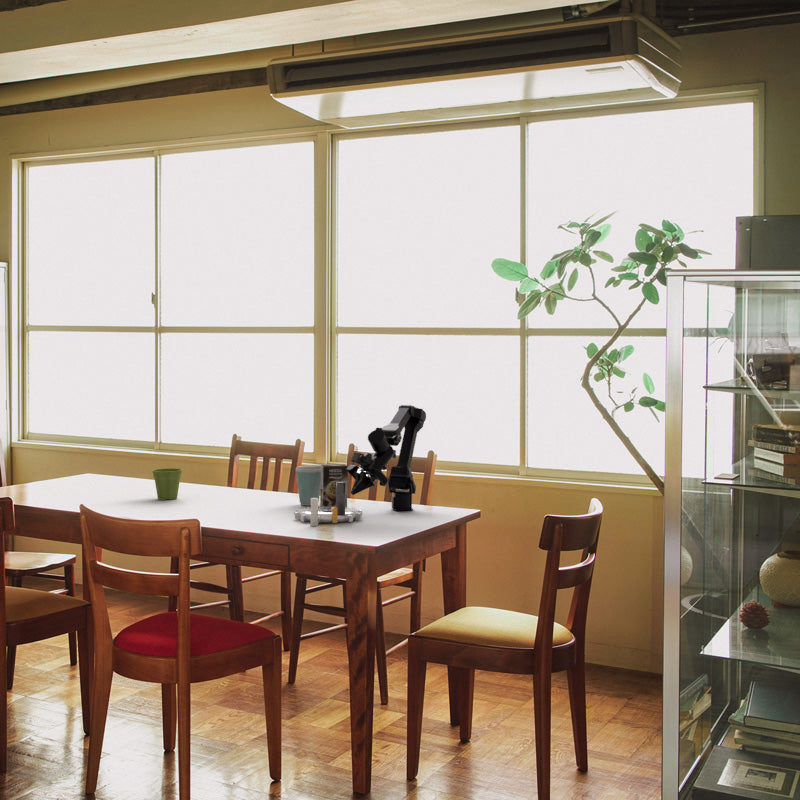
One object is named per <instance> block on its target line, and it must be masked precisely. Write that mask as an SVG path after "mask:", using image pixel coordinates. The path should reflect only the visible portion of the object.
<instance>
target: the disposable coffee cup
mask: <svg viewBox="0 0 800 800" xmlns="http://www.w3.org/2000/svg"><path fill="white" fill-rule="evenodd" d="M321 465H322V464H315V465H314V464H312V465H311V464H308V465H299V466H297V467H295V475H296V482H297V490H298V496H299V503H300V506H303V505H311V498H318V503H319V502H320V492H321Z"/></svg>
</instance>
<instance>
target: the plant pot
mask: <svg viewBox="0 0 800 800" xmlns="http://www.w3.org/2000/svg"><path fill="white" fill-rule="evenodd" d="M183 470H184V469H183V468H174V467H173V468H172V467H171V468H170V467H168V468H154V469H151V472H152V474H153V478H154V482H155V483H154V484H155V489H156V495H157V499H158V500H162V501H165V500H176V499H178V495H179V488H180V481H181V477H182V473H183Z"/></svg>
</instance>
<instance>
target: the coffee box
mask: <svg viewBox="0 0 800 800" xmlns="http://www.w3.org/2000/svg"><path fill="white" fill-rule="evenodd" d="M320 465H321V490H320V496H319V502H320V503H319V504H320V505H319V507H320V506H325V507H336V482H345V507H346V508H348V475H349V474H348V473H349V472H348V471H347V470H346V469H347V467H348V466H349V465H346V464H340V463H339V464H337V463H335V464H320Z"/></svg>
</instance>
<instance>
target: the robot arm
mask: <svg viewBox="0 0 800 800" xmlns="http://www.w3.org/2000/svg"><path fill="white" fill-rule="evenodd" d="M426 420H427V413H426V411H424V408H418V407H415V406H414V405H411V404H400V405H399V406H398V410H397V411H396V414H395V415H394V416H393V418H392V419H391V421H390V423H388V424H387V425H384V426H383V427H375V429H374V430H373V431H372V430H371V432H370V433H369V434H368V435H367V441H368V442H369V444H370V447H371V448H372V450H373V451H374V453H373V454H371V453H369V452H365V453H362V452H361V453H360V452H355V451H354V452H353V455H352V457H351V459H350V461H351V462H352V463H356V464H358V465H355V464H349V465H347V466H348V467H347V469H346V470H347V471H348V473H349V474H350V476H351V477H352V478H353V479H354V483H353V485H352V488H351V490H350V494H351V495H353V496H354V495H357V494H359V493H361V492H363V491H365V490H366V489H370V488H372V487H375V482H376V481H379V486H381V487H383V488H384V487H386V485H388V491H389V493H390V494H391V493H392V496H391V509H392V510H394V511H396V512H399V511H401V512H403V511H404V512H405V511H414V508H413V507H412V506H413V505H412V504H413V497H412V495H413V494H416V490H417V489H416V488H417V486H416V484H415V481H414V479H413V478H414V475H413V473H412V470H411V466H412V459H413V455H414V450H415V445H416V439H417V435H418V433H419V432H420V430H421V429H423V427H424V423H425V421H426ZM402 431H403V436H402ZM400 443H401V445H400ZM398 445H400V450H399V455H398V460H397V464H396V465H394V466H392V467H391V469H390V474H389V476H388V477H387V476H386V474H385V473H384V472H383V471H386V469H387V466H386V465H387V464H388V463H389V462H390V460H391V459H396V458H397V454H396V453H397V451H396V450H395V449H394V448H393V447H394V446H395V447H397V446H398ZM392 446H393V447H392Z"/></svg>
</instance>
